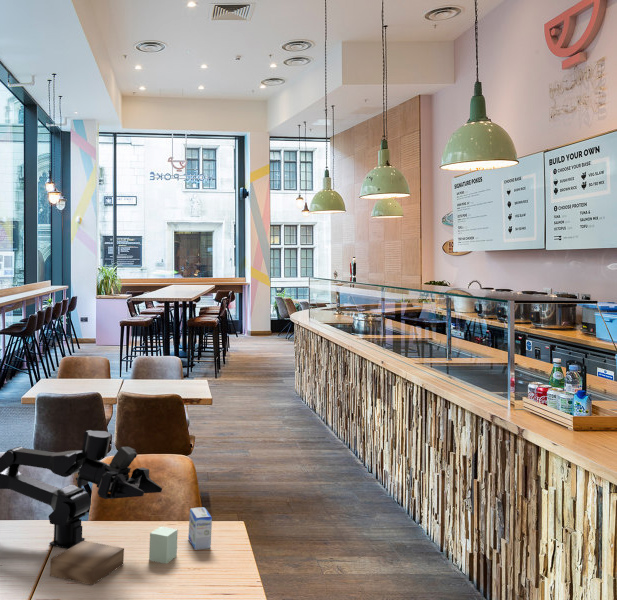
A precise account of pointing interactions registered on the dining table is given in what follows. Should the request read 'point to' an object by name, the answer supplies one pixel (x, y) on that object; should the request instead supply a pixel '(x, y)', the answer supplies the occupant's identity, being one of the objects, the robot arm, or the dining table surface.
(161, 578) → the dining table surface
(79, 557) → the walnut base
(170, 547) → the sage block
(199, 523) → the medicine box
